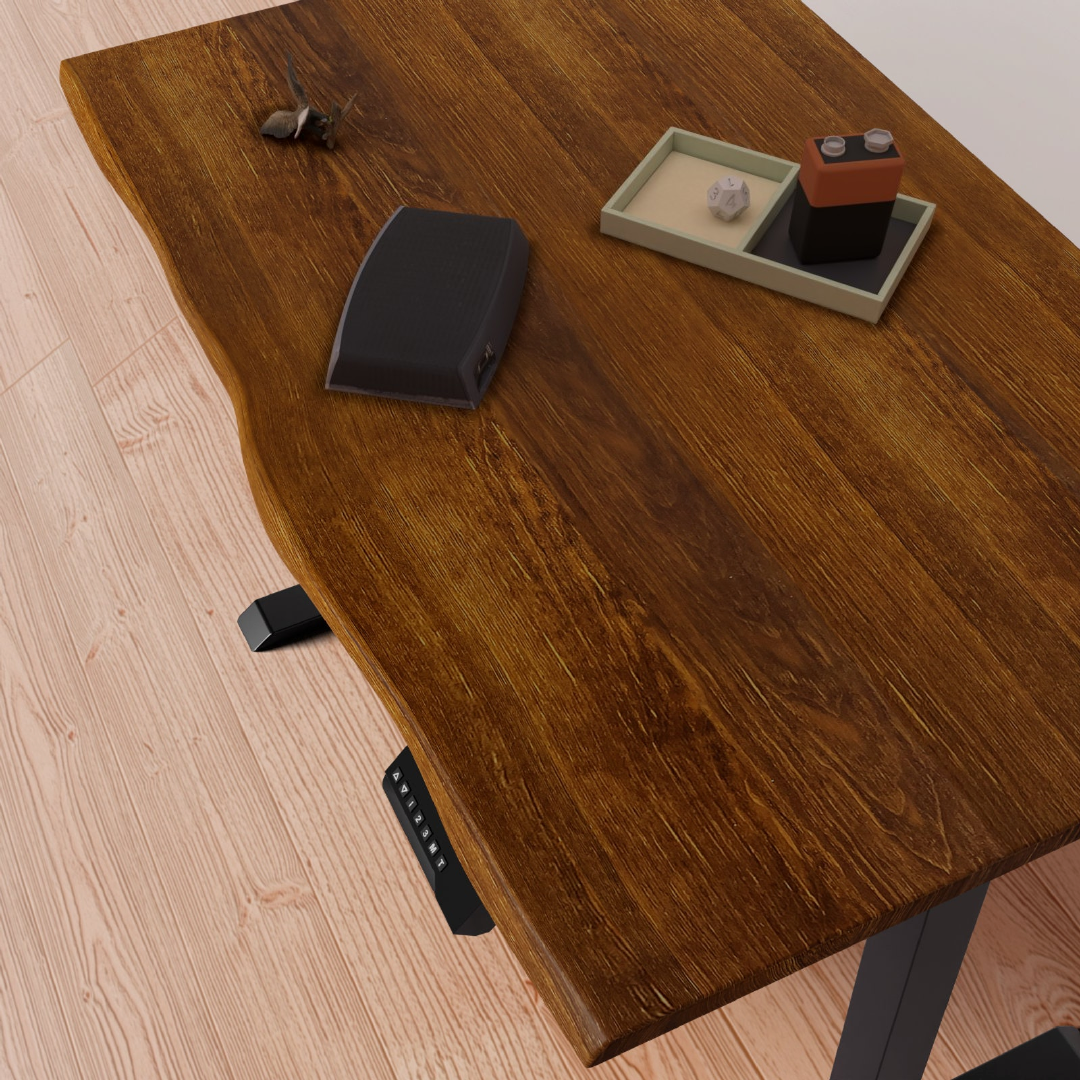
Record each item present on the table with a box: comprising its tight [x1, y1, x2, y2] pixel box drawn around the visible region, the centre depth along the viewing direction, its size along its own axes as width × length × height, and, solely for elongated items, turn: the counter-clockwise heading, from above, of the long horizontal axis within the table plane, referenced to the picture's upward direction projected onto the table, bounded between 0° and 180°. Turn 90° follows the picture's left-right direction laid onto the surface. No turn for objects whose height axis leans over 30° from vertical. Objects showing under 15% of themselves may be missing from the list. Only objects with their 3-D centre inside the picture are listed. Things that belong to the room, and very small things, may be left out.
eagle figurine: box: [259, 50, 359, 150], centre depth 105 cm, size 8×7×9 cm
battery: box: [788, 127, 906, 264], centre depth 91 cm, size 4×7×10 cm, turn 97°
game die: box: [707, 175, 750, 222], centre depth 97 cm, size 4×4×3 cm
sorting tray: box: [599, 126, 937, 325], centre depth 96 cm, size 24×14×3 cm, turn 61°
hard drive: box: [324, 205, 531, 411], centre depth 90 cm, size 13×19×4 cm
